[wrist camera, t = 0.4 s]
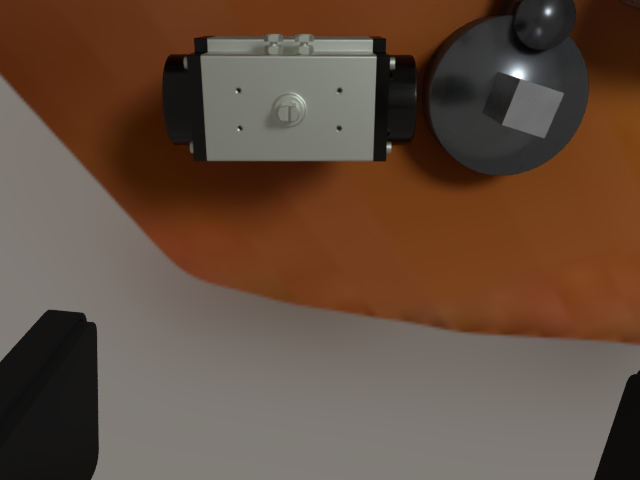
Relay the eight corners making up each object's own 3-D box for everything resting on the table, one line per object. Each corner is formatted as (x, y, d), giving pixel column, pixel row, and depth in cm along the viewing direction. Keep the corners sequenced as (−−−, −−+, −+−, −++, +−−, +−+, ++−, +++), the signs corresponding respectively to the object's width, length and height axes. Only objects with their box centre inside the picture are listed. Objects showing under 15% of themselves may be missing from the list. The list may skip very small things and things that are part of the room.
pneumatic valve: (390, 122, 38) (421, 167, 27) (203, 121, 38) (156, 167, 27) (394, 28, 36) (429, 35, 25) (197, 28, 36) (144, 35, 25)
